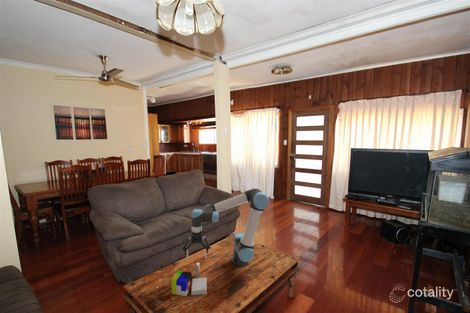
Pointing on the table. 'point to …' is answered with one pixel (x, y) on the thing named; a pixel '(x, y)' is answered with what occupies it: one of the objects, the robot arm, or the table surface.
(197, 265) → the dowel
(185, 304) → the table surface
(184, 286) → the puzzle toy
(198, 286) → the slab
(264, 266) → the table surface
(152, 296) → the table surface
